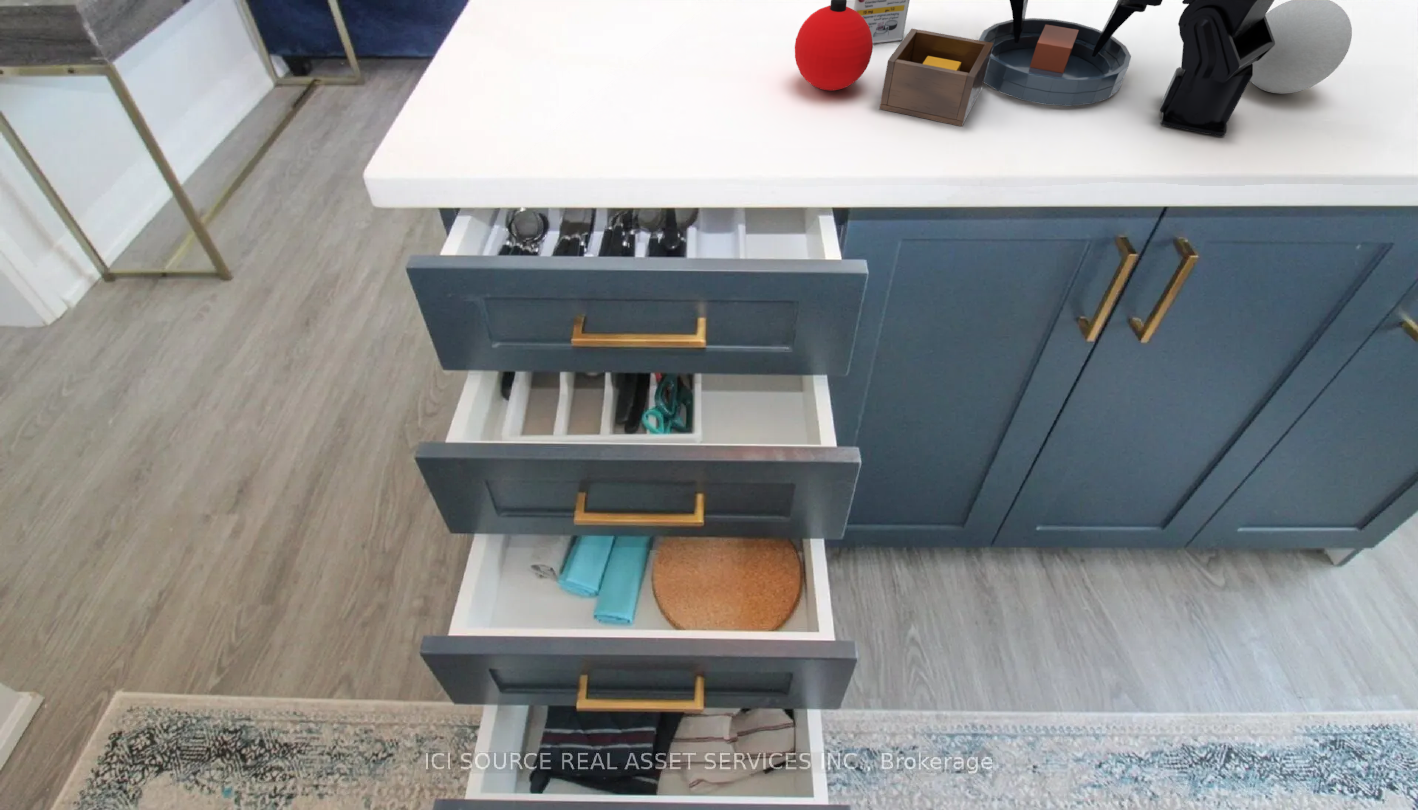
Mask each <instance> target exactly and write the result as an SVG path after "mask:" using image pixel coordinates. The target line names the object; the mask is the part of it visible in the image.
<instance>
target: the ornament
mask: <svg viewBox="0 0 1418 810" xmlns="http://www.w3.org/2000/svg"><path fill="white" fill-rule="evenodd" d="M846 4H847V0H830V5H827V6H824V7H822V8H819V9H817V10H815V11H814V12H813V13H812V14H810V15H809V16H808V17H807V18H806V19H805V20H804V22H803V23H802V25H801V26H800V28H799V29H798V32H797V35H796V37H795V43H794V58H795V59H794V60H795V64H796V66H797V68H798V70H799V73H800V74H801V76H802V77H803V78H804V79H805V81H806V82H808V83H809V84H810V85H811V86H813V87H815V88H817V89H820V90H824V91H832V92H833V91H838V90H844V89H846V88H848V87H850V86H851V85H852V84H854V83H856V82H857V81H858V80H859V79H860V78H861V77H862V76H863V74H864V73H865V72H866V70H867V68H868V66H869V64H870V62H871V59H872V54H873V48H874V47H873V45H874V43H873V42H872V35H871V31H870V28H869V26H868V24H867V23H866V21H865V20H864V18H863V17H862V16H861V15H860V14H859V13H858V12H857V11H855V10H853V9H851V8H849V7H846Z"/></svg>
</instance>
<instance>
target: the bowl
mask: <svg viewBox="0 0 1418 810" xmlns="http://www.w3.org/2000/svg"><path fill="white" fill-rule="evenodd" d="M1045 25H1052V26H1058V27H1064V28H1070V29H1076V30H1079V31H1078V34H1077V37H1076V40H1075V42H1074V45H1073V48H1072V51H1071V54H1070V57H1069V59H1068V62H1067V65H1066V67H1065V70H1064V72H1063V73H1058V72H1053V71H1048V70H1042V69H1037V68H1031V67H1030V65H1031V61H1032V58H1033V55H1034V52H1035V49H1036V45H1037V42H1038V40H1039V38H1040V36H1041V34H1042V31H1043V29H1044V27H1045ZM1101 32H1102V30H1100V29H1097V28H1094V27H1091V26H1089V25H1084V24H1080V23H1078V22H1074V21H1073V22H1072V21H1066V20H1061V19H1056V18H1055V19H1054V18H1035V17H1034V18H1033V17H1030V18H1029V17H1028V18H1025V20H1024V26H1023V30H1022V33H1021V36H1020V40H1019V42H1018V43H1015V40H1014V27H1013V19H1010V20H1006V21H1001V22H997V23H994V24H993V25H991V26H989V27H988V28H986V29H984V30H983V31H982V33H981V35H980V36H979V38H978V40H980V41H985V42H991V43H993V47H992V51H991V55H990V58H989V62H988V66H987V69H986V73H985V77H984V81H983V84H986V85H987V86H989V87H990V88H992V89H994V90H996V92H997V91H998V92H999V93H1001V94H1004V95H1006V96H1010V97H1013V98H1016V99H1019V100H1022V101H1027V102H1031V103H1036V104H1041V105H1051V106H1067V107H1069V106H1070V107H1071V106H1082V105H1092V104H1096V103H1098V102H1103V101H1105V100H1108V99H1109V98H1111V97H1113V95H1115V94H1116V93H1117V92H1119V90H1120V88H1121V86H1122V84H1123V82H1124V79H1125V77H1126V74H1127V72H1128V69H1129V67H1130V63H1131V59H1132V54H1130V51H1129V49H1128V47H1127V46H1126V45H1125V44H1123V43H1122V42H1121V41H1119V40H1118V39H1117V38H1116V37H1114V36H1113V35H1112V36H1111V37H1110V39H1109V40H1108V41H1107V42H1106V44H1105V45H1104V46H1103V47H1102V49H1101V50H1100V51H1099V52H1098V54H1097V55H1096V56H1095V57H1092V54H1093V51H1094V48H1095V46H1096V43H1097V40H1098V38H1099V36H1100V34H1101Z"/></svg>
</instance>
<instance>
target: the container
mask: <svg viewBox="0 0 1418 810" xmlns="http://www.w3.org/2000/svg"><path fill="white" fill-rule="evenodd" d="M909 5H910V0H847V4H846V7H849V8H851V9H853V10H855V11H857V12H858V13H859V14H860V15H861V16H862V17H863V18H864V20H865V21H866V23H867V24H868V26H869V28H870V31H871V35H872V42H873V44H882V43H887V42H896V41H902V40H903V39H904V33H905V28H906V23H907V17H908V12H909Z"/></svg>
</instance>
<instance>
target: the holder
mask: <svg viewBox="0 0 1418 810" xmlns="http://www.w3.org/2000/svg"><path fill="white" fill-rule="evenodd" d="M992 47H993V43H991V42H985V41H980V40H979V39H973V38H968V37H962V36H958V35H957V36H956V35H951V34H946V33H941V32H940V33H939V32H935V31H929V30H924V29H916V28H911V29H910V30H909V31H908V33H907V34H906V36H905V37H903V39H902V40H901V42H900V44H899V45H898V46H897V47H896V49H895V50H894V52H892V54H891V56H890V57H889V58H888V59H887V63H886V70H885V74H884V75H885V76H884V82H883V86H882V92H881V97H880V98H881V99H880V103H879V110H884V111H887V112H892V113H897V114H902V115H906V116H911V117H916V118H921V119H925V120H930V121H934V122H939V123H944V124H948V125H952V126H953V125H954V126H958V127H963V125H964V123H965V122H966V119H967V118H968V116H969V115H970V112H971V111H972V108H973V106H974V105H975V103H976V100H977V98H978V97H979V95H980V93H981V91H982V87H983V84H984V82H983V81H984V77H985V73H986V69H987V66H988V62H989V58H990V55H991V51H992ZM927 56H931V57H937V58H942V59H947V60H953V61H958V62H961V66H960V70H959V71H956V70H951V69H946V68H940V67H935V66H930V65H925V64H923V62H924V61H925V59H926V58H927Z"/></svg>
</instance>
